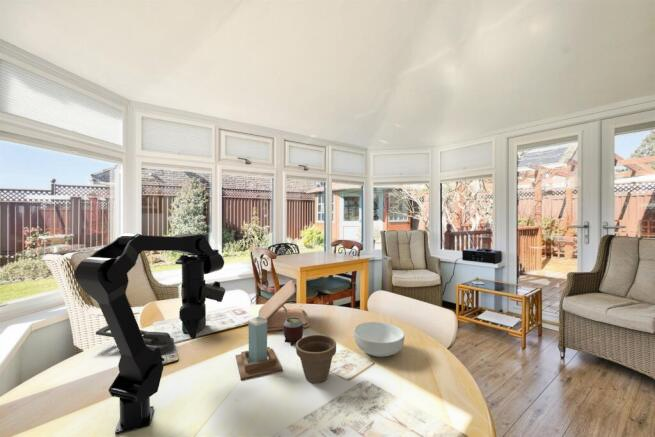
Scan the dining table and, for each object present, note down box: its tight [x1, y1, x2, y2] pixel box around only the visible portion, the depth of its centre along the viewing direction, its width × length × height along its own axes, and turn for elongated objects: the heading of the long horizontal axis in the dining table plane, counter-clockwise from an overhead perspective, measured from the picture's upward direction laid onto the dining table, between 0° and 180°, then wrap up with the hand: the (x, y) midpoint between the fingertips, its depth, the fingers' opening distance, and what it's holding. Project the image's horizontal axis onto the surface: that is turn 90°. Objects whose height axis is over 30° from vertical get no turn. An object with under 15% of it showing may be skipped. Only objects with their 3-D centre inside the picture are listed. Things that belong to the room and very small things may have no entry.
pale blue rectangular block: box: [247, 316, 268, 363], centre depth 91 cm, size 4×4×13 cm
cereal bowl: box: [353, 321, 405, 358], centre depth 99 cm, size 17×17×7 cm
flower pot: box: [295, 334, 337, 384], centre depth 84 cm, size 12×11×10 cm
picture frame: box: [235, 346, 284, 381], centre depth 91 cm, size 14×12×2 cm
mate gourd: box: [280, 305, 304, 347], centre depth 106 cm, size 8×8×15 cm
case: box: [257, 279, 310, 332], centre depth 126 cm, size 20×21×16 cm
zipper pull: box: [95, 325, 175, 354], centre depth 102 cm, size 9×7×25 cm
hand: (194, 331), depth 84 cm, fingers open, 9 cm apart
